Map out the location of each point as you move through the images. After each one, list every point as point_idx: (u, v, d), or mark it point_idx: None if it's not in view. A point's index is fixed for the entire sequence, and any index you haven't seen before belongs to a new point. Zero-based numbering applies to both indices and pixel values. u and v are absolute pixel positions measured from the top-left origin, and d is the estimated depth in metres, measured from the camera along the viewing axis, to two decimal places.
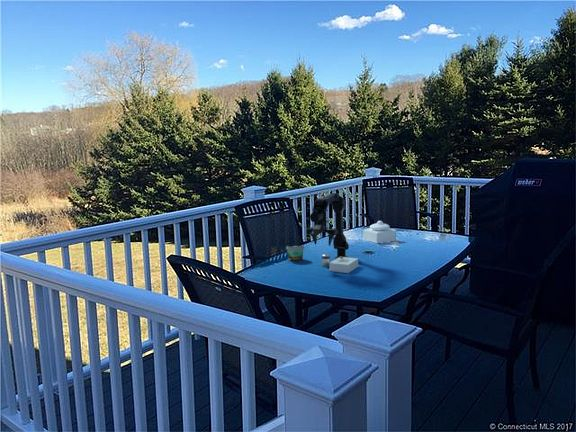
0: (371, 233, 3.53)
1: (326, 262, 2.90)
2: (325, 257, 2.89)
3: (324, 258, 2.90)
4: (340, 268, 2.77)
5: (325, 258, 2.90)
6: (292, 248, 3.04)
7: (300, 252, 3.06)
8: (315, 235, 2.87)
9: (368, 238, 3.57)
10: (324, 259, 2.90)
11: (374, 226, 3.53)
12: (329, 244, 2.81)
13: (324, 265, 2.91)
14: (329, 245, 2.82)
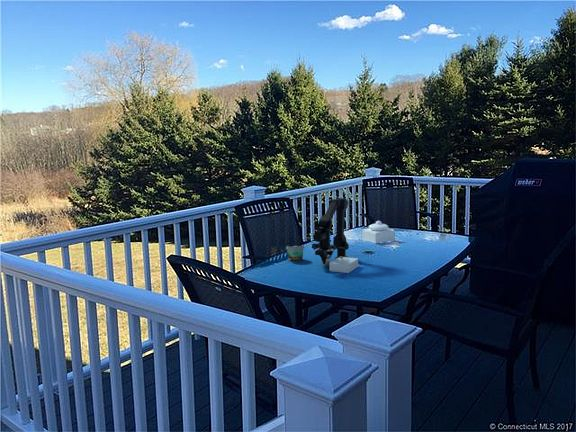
0: (370, 233, 3.53)
1: (326, 262, 2.90)
2: None
3: None
4: (340, 268, 2.77)
5: None
6: (292, 248, 3.04)
7: (300, 252, 3.06)
8: None
9: (367, 238, 3.57)
10: None
11: (373, 226, 3.53)
12: None
13: (324, 265, 2.91)
14: None
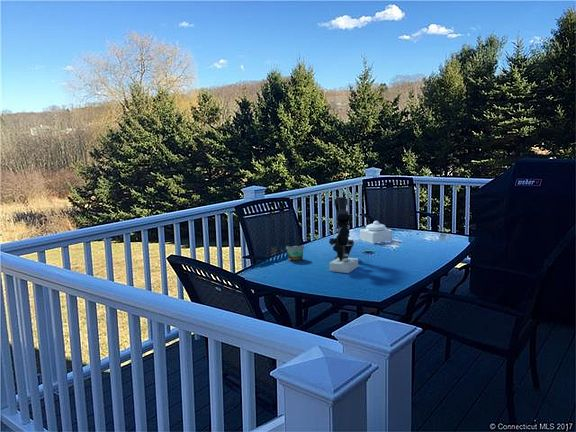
0: (367, 233, 3.53)
1: (344, 261, 2.82)
2: (343, 256, 2.81)
3: None
4: (340, 268, 2.77)
5: (343, 257, 2.81)
6: (292, 248, 3.04)
7: (300, 252, 3.06)
8: (347, 248, 2.87)
9: (364, 238, 3.57)
10: None
11: (370, 226, 3.53)
12: None
13: None
14: (340, 260, 2.80)
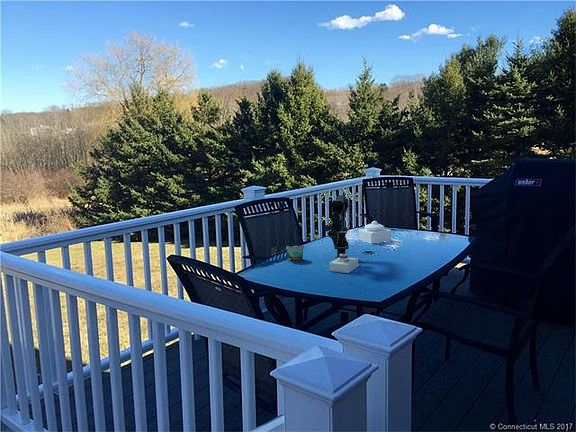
0: (366, 233, 3.53)
1: (344, 261, 2.82)
2: (343, 256, 2.81)
3: (342, 257, 2.81)
4: (340, 268, 2.77)
5: (343, 257, 2.81)
6: (292, 248, 3.04)
7: (300, 252, 3.06)
8: (342, 235, 2.98)
9: (363, 238, 3.57)
10: (342, 258, 2.81)
11: (369, 226, 3.53)
12: None
13: None
14: (334, 246, 2.91)
